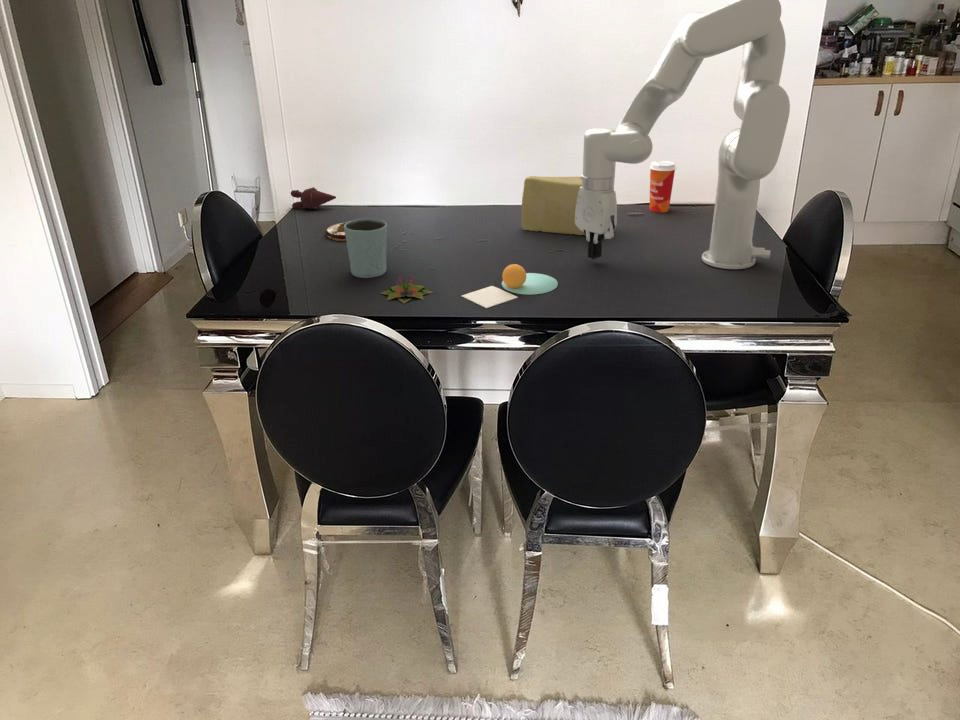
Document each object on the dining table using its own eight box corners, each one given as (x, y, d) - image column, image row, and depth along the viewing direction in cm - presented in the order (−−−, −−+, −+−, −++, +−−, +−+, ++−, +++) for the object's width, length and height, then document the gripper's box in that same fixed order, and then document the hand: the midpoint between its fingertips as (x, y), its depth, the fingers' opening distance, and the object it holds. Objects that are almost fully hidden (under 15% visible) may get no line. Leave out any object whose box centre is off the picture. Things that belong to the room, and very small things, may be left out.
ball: (499, 283, 167) (512, 296, 171) (520, 271, 166) (532, 285, 169) (496, 266, 171) (508, 280, 175) (516, 255, 169) (528, 269, 173)
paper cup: (641, 208, 226) (644, 161, 219) (663, 205, 228) (668, 159, 221) (654, 215, 219) (658, 167, 213) (677, 212, 221) (682, 164, 215)
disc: (562, 276, 177) (562, 275, 177) (551, 296, 166) (551, 296, 166) (509, 271, 180) (509, 271, 180) (495, 291, 169) (495, 290, 169)
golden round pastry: (344, 248, 201) (342, 233, 199) (312, 237, 210) (310, 223, 208) (386, 235, 210) (385, 221, 208) (354, 225, 219) (352, 211, 217)
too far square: (492, 286, 172) (492, 285, 172) (517, 297, 166) (517, 296, 166) (461, 296, 167) (461, 295, 167) (486, 308, 161) (486, 307, 161)
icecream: (339, 185, 233) (295, 188, 237) (330, 185, 226) (284, 188, 230) (341, 208, 235) (297, 210, 238) (332, 208, 228) (287, 211, 231)
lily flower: (369, 296, 170) (367, 277, 168) (410, 281, 178) (408, 263, 176) (403, 310, 163) (401, 291, 161) (443, 294, 170) (442, 276, 168)
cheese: (518, 235, 206) (518, 180, 199) (524, 224, 214) (524, 172, 208) (599, 238, 202) (602, 183, 195) (602, 227, 210) (605, 174, 203)
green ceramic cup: (345, 267, 186) (340, 221, 180) (384, 262, 189) (380, 215, 183) (354, 281, 177) (348, 232, 172) (395, 275, 180) (391, 227, 175)
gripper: (564, 180, 179) (562, 253, 187) (610, 192, 168) (606, 268, 177) (586, 174, 183) (583, 246, 191) (633, 186, 172) (627, 261, 181)
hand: (594, 256), depth 184 cm, fingers closed
